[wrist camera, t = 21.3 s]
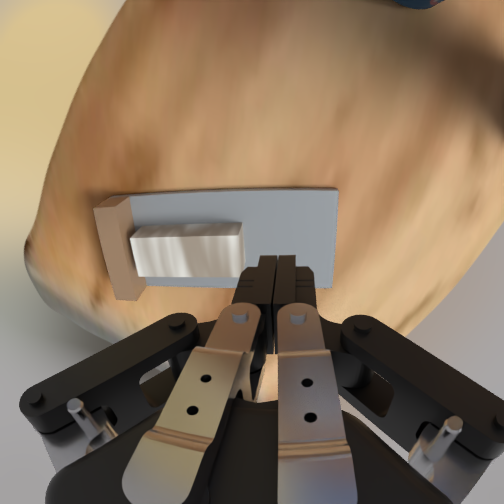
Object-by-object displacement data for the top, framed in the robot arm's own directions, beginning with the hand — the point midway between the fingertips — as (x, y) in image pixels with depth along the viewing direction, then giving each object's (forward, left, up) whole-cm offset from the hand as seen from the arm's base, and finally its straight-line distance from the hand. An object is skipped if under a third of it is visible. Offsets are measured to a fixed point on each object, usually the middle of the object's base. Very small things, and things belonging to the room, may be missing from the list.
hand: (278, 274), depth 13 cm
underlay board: (+6, +6, -16) cm, 18 cm away
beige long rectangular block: (+3, +5, -14) cm, 15 cm away
